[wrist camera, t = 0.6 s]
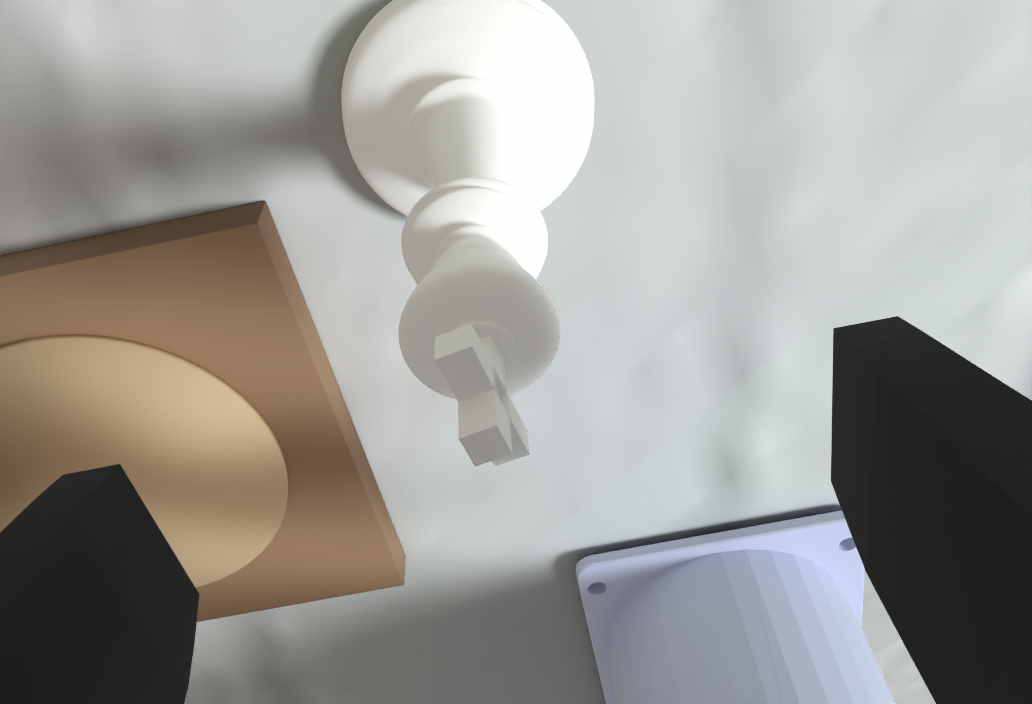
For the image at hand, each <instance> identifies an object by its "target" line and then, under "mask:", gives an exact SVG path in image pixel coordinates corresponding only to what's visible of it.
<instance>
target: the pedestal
mask: <svg viewBox="0 0 1032 704" xmlns="http://www.w3.org/2000/svg"><path fill="white" fill-rule="evenodd" d="M116 464H120V465H121V466H122V468H123V470H124V471H125V473H126V475H127V476H128V478H129V480H130V481H131V483H132V484H133V486H134V488H135V489H136V491H137V493H138V494H139V496H140V498H141V499H142V501H143V503H144V504H145V506H146V507H147V509H148V511H149V512H150V514H151V516H152V517H153V519H154V521H155V522H156V524H157V525H158V527H159V529H160V530H161V532H162V534H163V535H164V537H165V539H166V540H167V542H168V543H169V545H170V547H171V548H172V550H173V552H174V553H175V555H176V557H177V558H178V560H179V562H180V563H181V565H182V566H183V568H184V570H185V571H186V573H187V575H188V576H189V578H190V580H191V581H192V583H193V584H194V586H195V588H196V589H197V591H198V593H199V603H198V613H197V622H199V621H205V620H210V619H216V618H221V617H227V616H233V615H238V614H244V613H249V612H255V611H261V610H266V609H272V608H277V607H283V606H289V605H294V604H300V603H305V602H311V601H317V600H322V599H328V598H333V597H339V596H345V595H350V594H356V593H361V592H367V591H372V590H378V589H384V588H389V587H395V586H400V585H404V576H405V554H404V551H403V549H402V546H401V544H400V541H399V539H398V536H397V533H396V531H395V528H394V526H393V523H392V521H391V518H390V516H389V513H388V511H387V508H386V505H385V503H384V500H383V498H382V495H381V493H380V490H379V488H378V485H377V483H376V480H375V478H374V475H373V472H372V470H371V467H370V465H369V462H368V460H367V457H366V455H365V452H364V450H363V447H362V445H361V442H360V439H359V437H358V434H357V432H356V429H355V427H354V424H353V422H352V419H351V417H350V414H349V411H348V409H347V406H346V404H345V401H344V399H343V396H342V394H341V391H340V389H339V386H338V384H337V381H336V378H335V376H334V373H333V371H332V368H331V366H330V363H329V361H328V358H327V356H326V353H325V351H324V348H323V345H322V343H321V340H320V338H319V335H318V333H317V330H316V328H315V325H314V323H313V320H312V317H311V315H310V312H309V310H308V307H307V305H306V302H305V300H304V297H303V295H302V292H301V290H300V287H299V284H298V282H297V279H296V277H295V274H294V272H293V269H292V267H291V264H290V262H289V259H288V257H287V254H286V251H285V249H284V246H283V244H282V241H281V239H280V236H279V234H278V231H277V229H276V226H275V224H274V221H273V218H272V216H271V213H270V211H269V208H268V206H267V203H266V201H263V202H258V203H253V204H248V205H244V206H239V207H234V208H229V209H224V210H220V211H215V212H210V213H205V214H200V215H196V216H191V217H186V218H181V219H176V220H172V221H167V222H162V223H157V224H152V225H148V226H143V227H138V228H133V229H128V230H123V231H119V232H114V233H109V234H104V235H99V236H95V237H90V238H85V239H80V240H75V241H71V242H66V243H61V244H56V245H51V246H47V247H42V248H37V249H32V250H27V251H23V252H18V253H13V254H8V255H3V256H0V532H1V531H2V530H3V529H4V528H5V527H6V526H7V525H8V524H10V523H11V522H12V521H13V520H14V519H15V518H16V517H17V516H18V515H19V514H20V513H21V512H22V511H23V510H24V509H25V508H26V507H27V506H28V505H29V504H30V503H31V502H32V501H34V500H35V499H36V498H37V497H38V496H39V495H40V494H41V493H42V492H43V491H45V490H46V489H47V488H48V487H49V486H50V485H52V484H53V483H54V482H55V481H56V480H57V479H59V478H60V477H61V476H62V475H64V474H69V473H74V472H79V471H85V470H90V469H95V468H101V467H106V466H111V465H116Z"/></svg>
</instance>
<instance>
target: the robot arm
mask: <svg viewBox="0 0 1032 704" xmlns="http://www.w3.org/2000/svg"><path fill="white" fill-rule="evenodd" d="M831 482H832V485H833V487H834V490H835V493H836V495H837V498H838V501H839V504H840V506H841V509H842V510H841V511H835V512H830V513H824V514H819V515H813V516H807V517H802V518H796V519H791V520H785V521H779V522H774V523H768V524H763V525H757V526H751V527H746V528H740V529H735V530H729V531H723V532H718V533H712V534H707V535H701V536H695V537H690V538H684V539H679V540H673V541H667V542H662V543H656V544H651V545H645V546H639V547H634V548H628V549H623V550H617V551H611V552H606V553H600V554H595V555H590V556H587V557H584V558H583V559H581V560H580V561H579V562H578V563H577V565H576V577H577V582H578V586H579V591H580V595H581V599H582V603H583V608H584V612H585V616H586V621H587V625H588V629H589V633H590V638H591V642H592V646H593V650H594V655H595V659H596V663H597V668H598V672H599V676H600V680H601V685H602V689H603V693H604V698H605V702H606V704H896V703H895V701H894V699H893V697H892V694H891V692H890V690H889V688H888V686H887V683H886V681H885V679H884V677H883V674H882V672H881V670H880V668H879V666H878V663H877V661H876V659H875V657H874V654H873V652H872V650H871V648H870V646H869V643H868V641H867V639H866V637H865V634H864V632H863V630H862V611H863V590H864V570H865V571H866V573H867V574H868V576H869V578H870V580H871V582H872V584H873V586H874V588H875V590H876V592H877V594H878V596H879V598H880V599H881V601H882V603H883V605H884V607H885V609H886V611H887V613H888V614H889V616H890V618H891V620H892V622H893V624H894V626H895V628H896V630H897V631H898V633H899V635H900V637H901V639H902V641H903V643H904V645H905V647H906V648H907V650H908V652H909V654H910V656H911V658H912V660H913V661H914V663H915V665H916V667H917V669H918V671H919V673H920V674H921V676H922V678H923V680H924V682H925V684H926V686H927V687H928V689H929V691H930V693H931V695H932V697H933V699H934V700H935V702H936V704H1032V401H1031V400H1030V399H1028V398H1027V397H1025V396H1023V395H1022V394H1020V393H1018V392H1017V391H1015V390H1014V389H1012V388H1011V387H1009V386H1007V385H1006V384H1004V383H1003V382H1001V381H999V380H998V379H996V378H995V377H993V376H992V375H990V374H988V373H987V372H985V371H984V370H982V369H981V368H979V367H977V366H976V365H974V364H973V363H971V362H970V361H968V360H966V359H965V358H963V357H962V356H960V355H959V354H957V353H955V352H954V351H952V350H951V349H949V348H948V347H946V346H945V345H943V344H941V343H940V342H938V341H937V340H935V339H934V338H932V337H930V336H929V335H927V334H926V333H924V332H923V331H921V330H919V329H918V328H916V327H915V326H913V325H911V324H910V323H908V322H906V321H905V320H903V319H901V318H900V317H898V316H897V317H891V318H886V319H881V320H876V321H870V322H865V323H860V324H854V325H849V326H844V327H839V328H834V334H833V395H832V456H831ZM847 538H848V539H847ZM844 539H845V540H844ZM596 582H600V583H597V584H593V583H596ZM198 603H199V593H198V591H197V589H196V588H195V586H194V584H193V583H192V581H191V580H190V578H189V576H188V575H187V573H186V571H185V570H184V568H183V566H182V565H181V563H180V562H179V560H178V558H177V557H176V555H175V553H174V552H173V550H172V548H171V547H170V545H169V543H168V542H167V540H166V539H165V537H164V535H163V534H162V532H161V530H160V529H159V527H158V525H157V524H156V522H155V521H154V519H153V517H152V516H151V514H150V512H149V511H148V509H147V507H146V506H145V504H144V503H143V501H142V499H141V498H140V496H139V494H138V493H137V491H136V489H135V488H134V486H133V484H132V483H131V481H130V480H129V478H128V476H127V475H126V473H125V471H124V470H123V468H122V466H121V465H120V464H116V465H111V466H106V467H101V468H95V469H90V470H85V471H79V472H74V473H69V474H64V475H62V476H61V477H60V478H59V479H57V480H56V481H55V482H54V483H53V484H52V485H50V486H49V487H48V488H47V489H46V490H45V491H43V492H42V493H41V494H40V495H39V496H38V497H37V498H36V499H35V500H34V501H32V502H31V503H30V504H29V505H28V506H27V507H26V508H25V509H24V510H23V511H22V512H21V513H20V514H19V515H18V516H17V517H16V518H15V519H14V520H13V521H12V522H11V523H10V524H8V525H7V526H6V527H5V528H4V529H3V530H2V531H1V532H0V704H184V702H185V698H186V693H187V689H188V684H189V677H190V670H191V663H192V656H193V649H194V641H195V631H196V622H197V613H198Z"/></svg>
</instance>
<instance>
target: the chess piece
mask: <svg viewBox="0 0 1032 704" xmlns="http://www.w3.org/2000/svg"><path fill="white" fill-rule="evenodd" d="M341 109H342V117H343V125H344V131H345V136H346V140H347V144H348V147H349V150H350V153H351V155H352V157H353V160H354V162H355V164H356V166H357V168H358V169H359V171H360V173H361V174H362V176H363V177H364V179H365V180H366V182H367V183H368V184H369V185H370V187H371V188H372V189H373V190H374V191H375V192H376V193H377V194H378V195H379V196H380V197H381V198H382V199H383V200H384V201H385V202H386V203H387V204H389V205H390V206H391V207H393V208H394V209H395V210H397V211H398V212H400V213H402V214H403V215H405V216H406V217H407V219H406V221H405V224H404V228H403V232H402V252H403V257H404V261H405V263H406V265H407V268H408V270H409V272H410V273H411V275H412V277H413V278H414V280H415V282H416V283H417V284H418V286H417V287H416V289H415V290H414V291H413V293H412V294H411V296H410V297H409V299H408V301H407V303H406V305H405V307H404V310H403V312H402V315H401V319H400V324H399V344H400V348H401V352H402V355H403V357H404V360H405V362H406V363H407V365H408V367H409V368H410V370H411V371H412V372H413V374H414V375H415V376H416V377H417V378H418V379H419V380H420V381H421V382H422V383H424V384H425V385H426V386H428V387H429V388H431V389H432V390H434V391H436V392H438V393H440V394H442V395H444V396H447V397H450V398H454V399H457V400H458V414H459V440H460V441H461V443H462V445H463V447H464V448H465V450H466V452H467V453H468V455H469V457H470V458H471V460H472V462H473V464H474V465H475V466H478V465H481V464H484V463H487V462H489V461H493V463H494V465H495V466H496V465H499V464H502V463H505V462H508V461H511V460H514V459H517V458H520V457H523V456H526V455H529V446H528V437H527V430H526V428H525V426H524V424H523V422H522V420H521V418H520V416H519V414H518V412H517V410H516V409H515V407H514V405H513V403H512V401H511V399H510V397H509V396H512V395H514V394H517V393H519V392H521V391H522V390H524V389H526V388H527V387H529V386H530V385H532V384H533V383H534V382H536V381H537V380H538V379H539V378H540V377H541V376H542V375H543V374H544V373H545V371H546V370H547V369H548V367H549V366H550V364H551V362H552V361H553V359H554V357H555V354H556V351H557V348H558V344H559V338H560V327H559V320H558V315H557V312H556V309H555V307H554V305H553V303H552V301H551V299H550V297H549V296H548V294H547V293H546V291H545V290H544V289H543V287H542V286H541V285H540V284H539V283H538V282H537V281H536V278H537V277H538V275H539V273H540V271H541V268H542V266H543V264H544V261H545V258H546V254H547V249H548V234H547V229H546V225H545V222H544V219H543V217H542V215H541V213H540V211H541V210H543V209H544V208H546V207H547V206H548V205H549V204H551V203H552V202H553V201H554V200H555V199H556V198H557V197H558V196H559V195H560V194H561V193H562V192H563V191H564V190H565V189H566V188H567V186H568V185H569V184H570V182H571V181H572V180H573V178H574V177H575V175H576V173H577V172H578V170H579V168H580V166H581V164H582V162H583V160H584V158H585V156H586V153H587V150H588V147H589V144H590V140H591V136H592V130H593V122H594V87H593V80H592V76H591V71H590V67H589V64H588V61H587V59H586V56H585V54H584V51H583V49H582V47H581V45H580V43H579V41H578V40H577V38H576V37H575V35H574V33H573V32H572V30H571V29H570V28H569V26H568V25H567V24H566V23H565V22H564V20H563V19H562V18H561V17H560V16H559V15H558V14H557V13H556V12H555V11H554V10H553V9H552V8H550V7H549V6H548V5H547V4H545V3H544V2H543V1H541V0H392V1H391V2H390V3H388V4H387V5H386V6H385V7H384V8H382V9H381V10H380V11H379V12H378V13H377V14H376V15H375V16H374V17H373V18H372V19H371V20H370V22H369V23H368V24H367V25H366V27H365V28H364V29H363V31H362V32H361V34H360V35H359V37H358V39H357V40H356V42H355V44H354V46H353V48H352V50H351V53H350V55H349V58H348V61H347V64H346V67H345V71H344V76H343V81H342V90H341Z"/></svg>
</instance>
